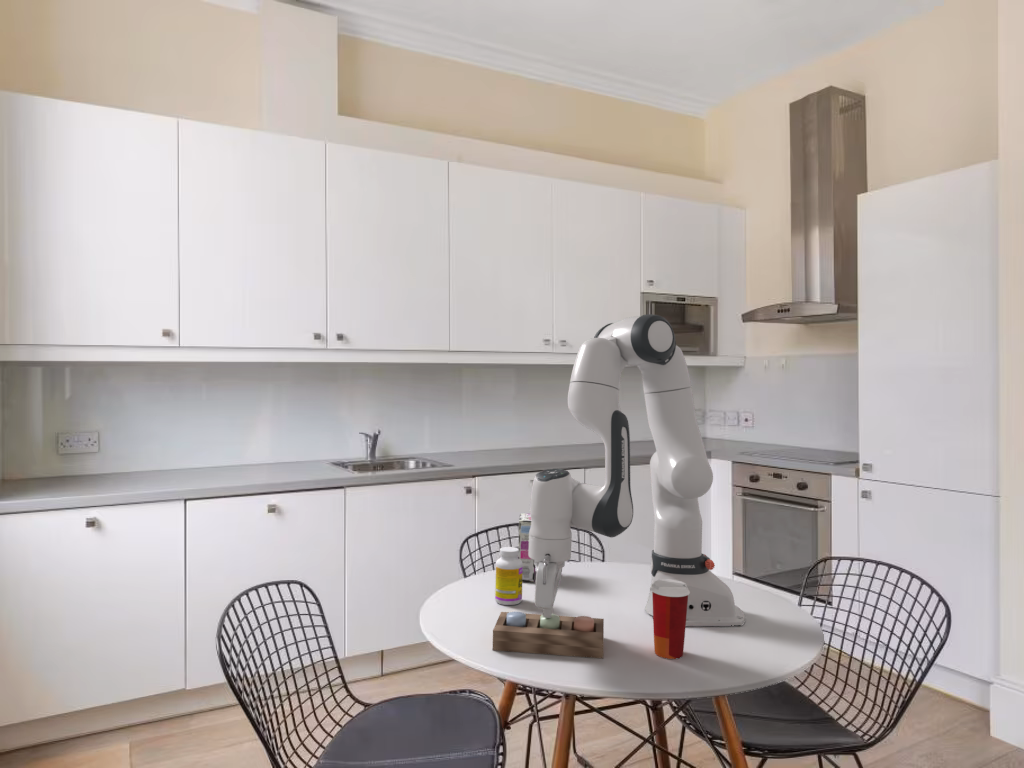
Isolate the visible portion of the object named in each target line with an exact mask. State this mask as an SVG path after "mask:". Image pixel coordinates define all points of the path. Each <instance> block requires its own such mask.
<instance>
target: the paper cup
mask: <svg viewBox="0 0 1024 768" xmlns="http://www.w3.org/2000/svg"><path fill="white" fill-rule="evenodd" d="M650 587H651V586H650ZM650 590H651V591H652V596H653V616H652V617H653V618H652V620H653V621H652V622H653V625H652V627H653V642H654V643H653V644H654V646H653V647H654V654H655V655H656V656H658V657H660V658H662V659H666V658H667V659H668V660H677V659H676V658H678V659H681V658H682V657H683V655H684V649H685V640H686V639H685V637H686V627H687V626H686V615H687V603H688V595H689V594H690V591H689V590H688V587H687V585H686V584H685V583H684V582H681V581H677V580H669V579H662V580H657V581H655V582H654V584H652V587H651V588H649V591H650ZM680 657H681V658H680Z"/></svg>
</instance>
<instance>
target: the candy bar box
mask: <svg viewBox="0 0 1024 768" xmlns="http://www.w3.org/2000/svg"><path fill="white" fill-rule="evenodd" d="M530 527H531V516H530V513H520V514H519V518H518V544H517V545H518V549H519V555H518V559H520V560H521V561H522V563H523V570H522V583H523V582H524V583H525V582H526V583H527V582H528V583H529V582H530V583H534V582H536V566H535V565H534V560H533V559H531V558H530V557H529V556H528V551H529V531H530Z"/></svg>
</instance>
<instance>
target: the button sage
mask: <svg viewBox="0 0 1024 768" xmlns="http://www.w3.org/2000/svg"><path fill="white" fill-rule="evenodd" d="M559 616H560V615H557V614H555V613H552V616H551V618H544V617H543V614H541V616H540V628H545V629H559V627H560V617H559Z"/></svg>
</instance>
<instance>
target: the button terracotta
mask: <svg viewBox="0 0 1024 768" xmlns="http://www.w3.org/2000/svg"><path fill="white" fill-rule="evenodd" d="M574 617H575V618H574V631H587V632H594V619H593V618H594V617H591V616H585V615H578V616H574Z"/></svg>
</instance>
